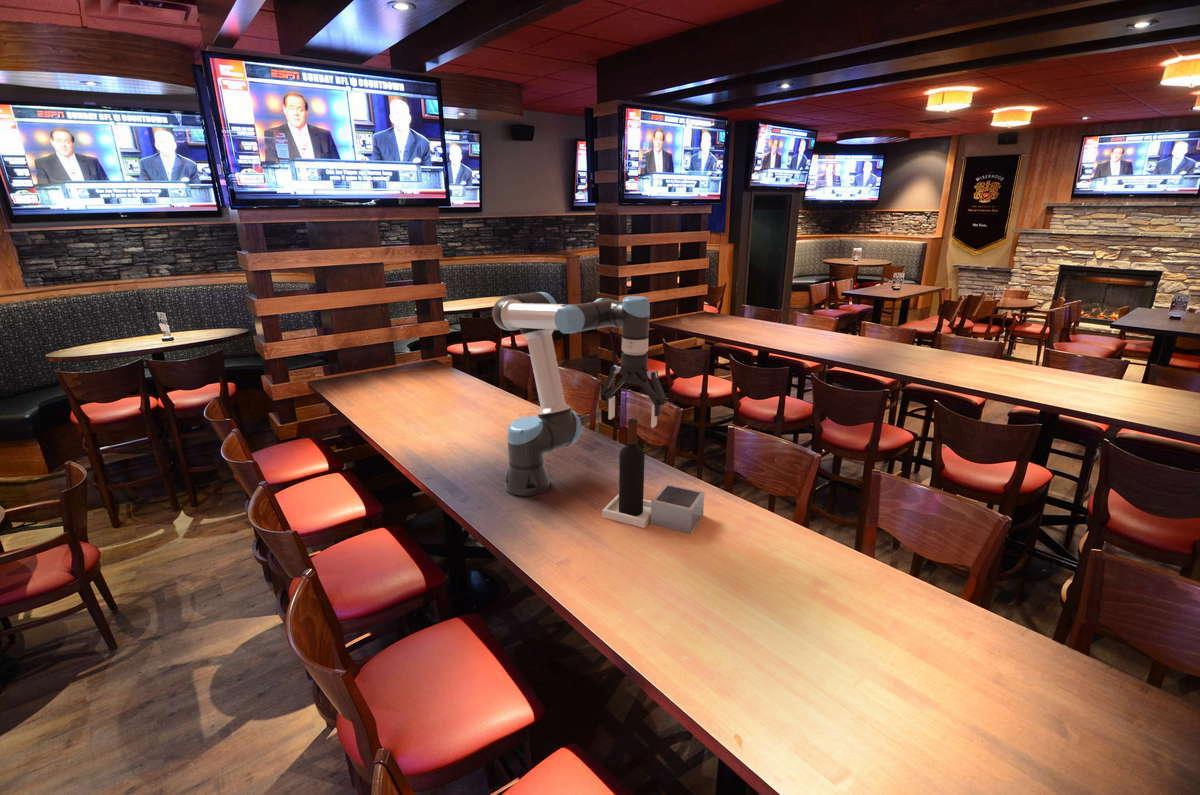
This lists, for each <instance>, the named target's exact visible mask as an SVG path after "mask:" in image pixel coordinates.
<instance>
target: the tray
mask: <svg viewBox="0 0 1200 795" xmlns="http://www.w3.org/2000/svg"><path fill="white" fill-rule="evenodd" d="M601 512H602V514H601V516H602V518H604V519H608V520H612V521H616V522H620V523H623V524H627V525H631V526H635V527H638V528H642V529H646V527H647V525H648V524H649V523H650V522H651V500H648V499H645V498H643V513H642V514H641V515H639V516H636V517H635V516H631V515H627V514H623V513H620V512H619V493H618V494H617V495H615V497H613V499H612V500H610V502H609V503H608V504H606V506H604V508H603V509H602V511H601Z"/></svg>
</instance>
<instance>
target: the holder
mask: <svg viewBox="0 0 1200 795" xmlns="http://www.w3.org/2000/svg"><path fill="white" fill-rule="evenodd" d="M650 501H651V521H650V522H649V523H650V525H652V526H655V527H658V528H662V529H663V528H664V529H666V530H670V531H675V532H679V533H682V534H686V535H691V534H692V533H693V531H694V530H695V528H696V527H697V525H698V524H699V522H700V521H701V519H702V517H703V516H704V506H705V491H701V490H698V489H692V488H690V487H683V486H679V485H674V484H671V483H665V484H664V485H663V486H662V488H661V489H660V490H659V491H658V492H657V493H656V494H655V496H654V497H653V498H652V499H651V500H650Z"/></svg>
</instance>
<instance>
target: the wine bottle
mask: <svg viewBox="0 0 1200 795" xmlns="http://www.w3.org/2000/svg"><path fill="white" fill-rule="evenodd" d="M638 425H639V424H638V419H636V418H629V419H627V444H626V445H624V447H622V448H621V450H620V452H619V456H618V458H619V462H618V463H619V467H618V469H619V470H618V471H619V473H618V494H619V512H620V513H623V514H627V515H631V516H635V517H636V516H639V515H641V514H642V513H643V499H644V492H645V491H644V490H645V489H644V488H645V484H644V483H645V460H646V458H645V457H646V456H645V455H646V454H645V452H644V449H642V447H640V446H639V445H638Z"/></svg>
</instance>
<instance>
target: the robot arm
mask: <svg viewBox="0 0 1200 795" xmlns="http://www.w3.org/2000/svg"><path fill="white" fill-rule="evenodd" d="M493 305H494V306H493V307H492V311H491V315H492V319H493V321H494V323H495V325H496V326H497V327H498V328H499V329H502V330H505V331H510V332H511V331H520V333H521V334H520V335H521V336H522V337H523V338H524V339H526V341H527V347H528V352H529V356H530V361H531V366H532V370H533V375H534V380H535V385H536V391H537V395H538V401H539V405H540V408H539V410H538V411H537V416H533V415H532V416H522V417H520V418H517V419H515V420H513V421H512V422H511V423H510V424H509V425H508V428H507V448H508V450H507V451H508V469H507V472H506V475H505V479H504V489H505V491H506V492H508V493H510V494H511V495H514V496H518V497H530V496H537V495H540V494H542V493H545V492H546V491H547V490H548V489H549V488H550V486H551V485H550V477H549V475H548V472H547V469H546V466H545V461H544V460H545V459H544V455H545V454H548V453H551V452H553V451H556V450H558V449H559V450H560V449H562V448H567V447H569V446H570V445H573V444H576V443H577V442H578V440H579V439H580V437H581V434H582V422H581V419H580V416H578V414H577V412H575V411H573V410H572V407H571V406H570V405H569V404H567V403H566V400H565V399H566V398H565V394H564V389H563V385H562V380H561V374H560V369H559V365H558V360H557V356H556V355H557V354H556V351H555V350H556V349H555V344H554V340H553V332H555V331H559V332H560V333H562V334H563V335H564V334H566V335H567V334H577V333H579V332H585V331H590V330H597V329H602V328H608V327H612V328H618V329H621V351H622V352H621V354H620V355H621V356H620V358H621V359H620V361H621V362H620V365H621V366H618V364H614V365H612V366H611V367H610V370H609V375H608V376H607V378H606V381H605V382H604V384H603V386H602V388H601V389H600V395H601V396H605V407H606V408H608V416H607V418H608V420H612V419H613V418H614V419H615V416H616V415H615V414H616V413H615V412H616V411H615V410H616V396H615V395H614V394H615V393H616V392H617V391H618V390H619V389H620V387H622V385H623V384H625V383H627V384H629V385H630V384H632V385H634V386H635V385H636V386H638V385H639V386H640V387H641V388H642V389H643V391H644V392H645V394H646V395H647V396H648V398H649V399H650V400H651V402H652V403H653V404H652V405H651V419H650V428H652V429H654V428H655V427H656V426H657V425H658V417H659V416H660V415H661V409H662V408H661V406H665V404H667V403H668V398H667V396H666V394H665V391H664V389H663V387H662V384H661V381H660V379H659V371H658V370H656V369H655V370H653V371H651V370H648V360H649V359H648V358H649V356H648V355H649V354H648V351H649V333H650V332H649V328H650V316H651V311H650V307H651V306H650V300H649V298H648V297H646V296H641V295H640V296H639V295H628V296H625V297H624V298H622V301H620V300H616V299H612V298H608V297H607V298H605V297H604V298H603V297H599V298H597V299H595V300H594V301H592V302H585V303H576V304H575V303H573V304H572V303H569V304H568V303H557V301H556V300H555V298H554V297H553V296H552V295H551V294H550V293H548V292H545V291H532V292H528V293H527V292H525V293H524V292H523V293H518V294H510V295H509V294H507V295H505V296H503V297H501V298H499V299H498V300H497V301H496V302H495V303H494V304H493ZM618 373H620V375H621V376H622V377H621V378H620V379H619V380H618V381H617V382H616V383H615V384H614V385H613V386H612V388H611V389H610V387H611V385H612V383H613V382H614V380H615V378H616V376H617V375H618ZM647 377H649V379H650V381H651V383H652V386H651V384H650V381H649V380H648V378H647ZM653 388H654V389H653ZM609 389H610V390H609ZM613 395H614V396H613Z"/></svg>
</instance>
